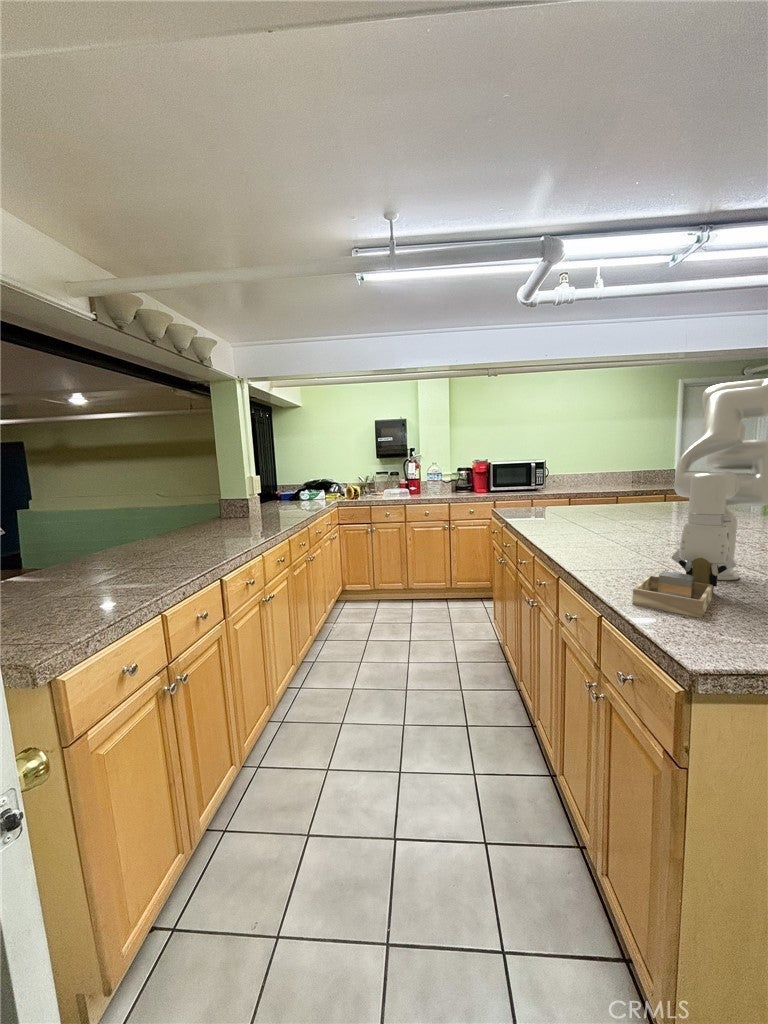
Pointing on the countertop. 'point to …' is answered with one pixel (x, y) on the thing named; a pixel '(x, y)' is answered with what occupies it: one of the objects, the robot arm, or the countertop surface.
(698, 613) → the tray
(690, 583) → the tin
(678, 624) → the countertop surface
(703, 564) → the cork
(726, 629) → the countertop surface
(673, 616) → the countertop surface
